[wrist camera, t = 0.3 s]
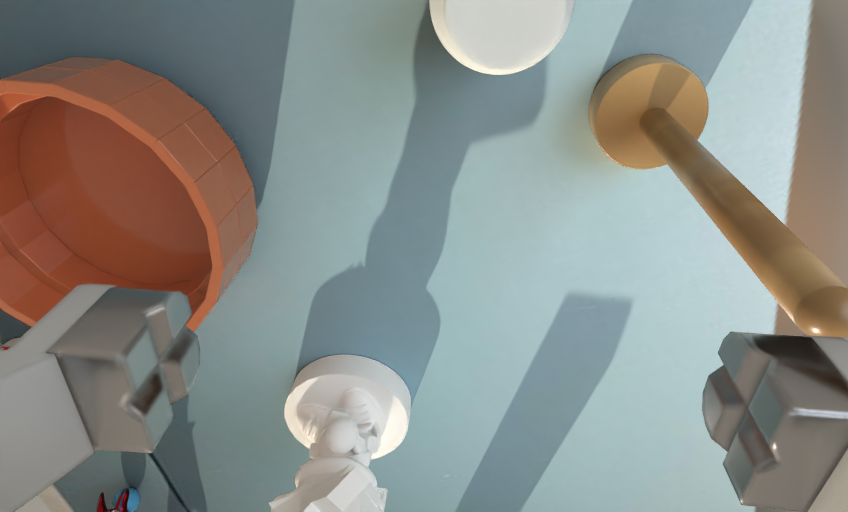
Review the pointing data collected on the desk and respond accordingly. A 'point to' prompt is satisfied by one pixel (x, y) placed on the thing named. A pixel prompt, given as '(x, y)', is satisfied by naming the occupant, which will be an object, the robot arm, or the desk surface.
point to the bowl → (116, 188)
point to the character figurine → (343, 432)
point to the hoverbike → (120, 501)
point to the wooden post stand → (711, 183)
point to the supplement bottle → (500, 31)
